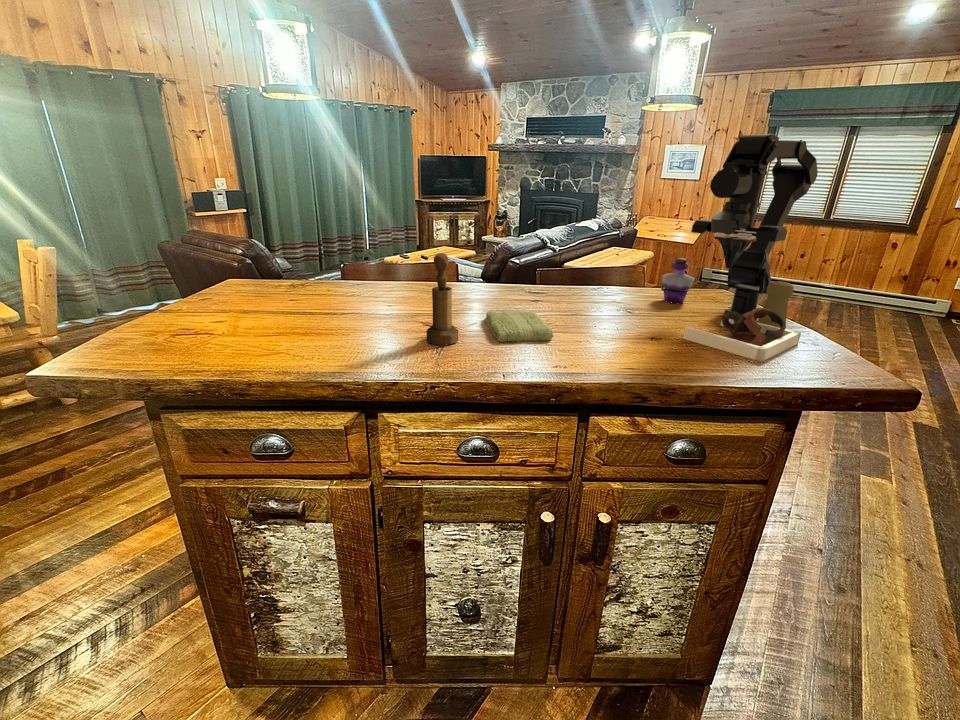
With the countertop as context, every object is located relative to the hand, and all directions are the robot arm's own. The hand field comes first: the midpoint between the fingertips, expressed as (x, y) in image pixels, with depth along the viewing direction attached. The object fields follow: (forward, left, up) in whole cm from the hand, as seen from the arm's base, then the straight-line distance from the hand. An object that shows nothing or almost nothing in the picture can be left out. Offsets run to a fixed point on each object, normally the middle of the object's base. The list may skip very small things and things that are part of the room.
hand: (728, 268), depth 109 cm
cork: (-5, +10, -13) cm, 17 cm away
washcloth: (+44, -24, -14) cm, 52 cm away
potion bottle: (-9, -17, -13) cm, 23 cm away
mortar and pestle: (+62, -27, -13) cm, 69 cm away
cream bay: (+10, +10, -13) cm, 19 cm away
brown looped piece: (+8, +11, -13) cm, 19 cm away
